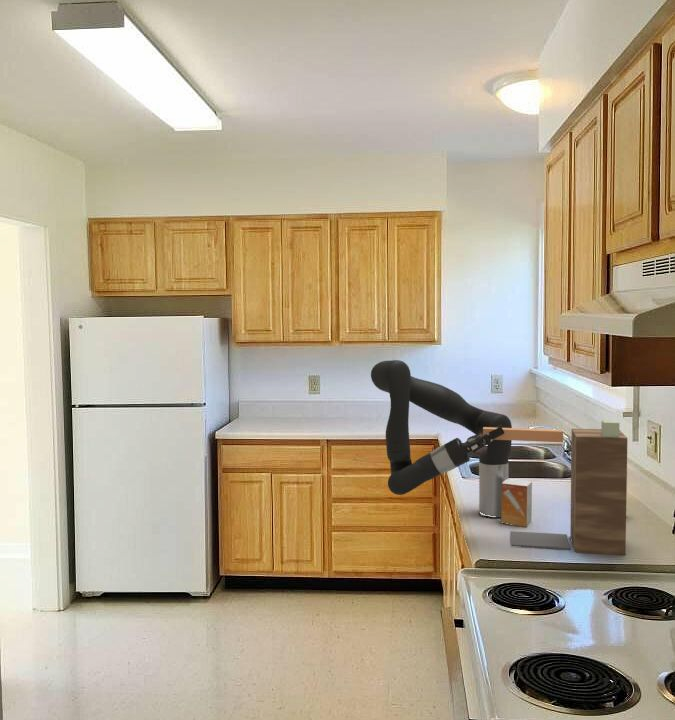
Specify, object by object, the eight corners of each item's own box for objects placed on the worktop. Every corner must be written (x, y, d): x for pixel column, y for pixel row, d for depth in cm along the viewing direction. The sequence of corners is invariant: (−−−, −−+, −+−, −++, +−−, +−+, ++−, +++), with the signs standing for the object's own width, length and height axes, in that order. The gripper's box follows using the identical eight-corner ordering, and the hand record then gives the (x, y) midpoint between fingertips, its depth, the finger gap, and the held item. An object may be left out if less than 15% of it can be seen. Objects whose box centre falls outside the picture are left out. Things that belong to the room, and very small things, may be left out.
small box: (500, 524, 222) (501, 482, 221) (506, 518, 227) (506, 478, 226) (527, 527, 218) (527, 485, 217) (532, 522, 223) (532, 481, 222)
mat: (510, 533, 213) (510, 531, 213) (566, 536, 209) (566, 534, 209) (511, 546, 201) (511, 544, 201) (570, 550, 198) (570, 547, 197)
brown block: (483, 437, 207) (483, 427, 207) (562, 440, 202) (562, 429, 202) (482, 439, 204) (483, 428, 204) (563, 442, 200) (563, 431, 199)
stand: (570, 536, 208) (571, 428, 206) (617, 539, 206) (619, 429, 203) (575, 552, 196) (576, 436, 193) (625, 555, 193) (627, 438, 191)
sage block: (601, 434, 196) (601, 420, 196) (616, 434, 195) (617, 420, 195) (603, 437, 192) (603, 422, 192) (619, 437, 191) (619, 422, 191)
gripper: (441, 449, 202) (496, 420, 198) (445, 440, 215) (496, 413, 211) (454, 472, 201) (509, 444, 197) (457, 462, 215) (509, 435, 211)
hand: (502, 428), depth 204 cm, fingers closed on brown block, 3 cm apart
